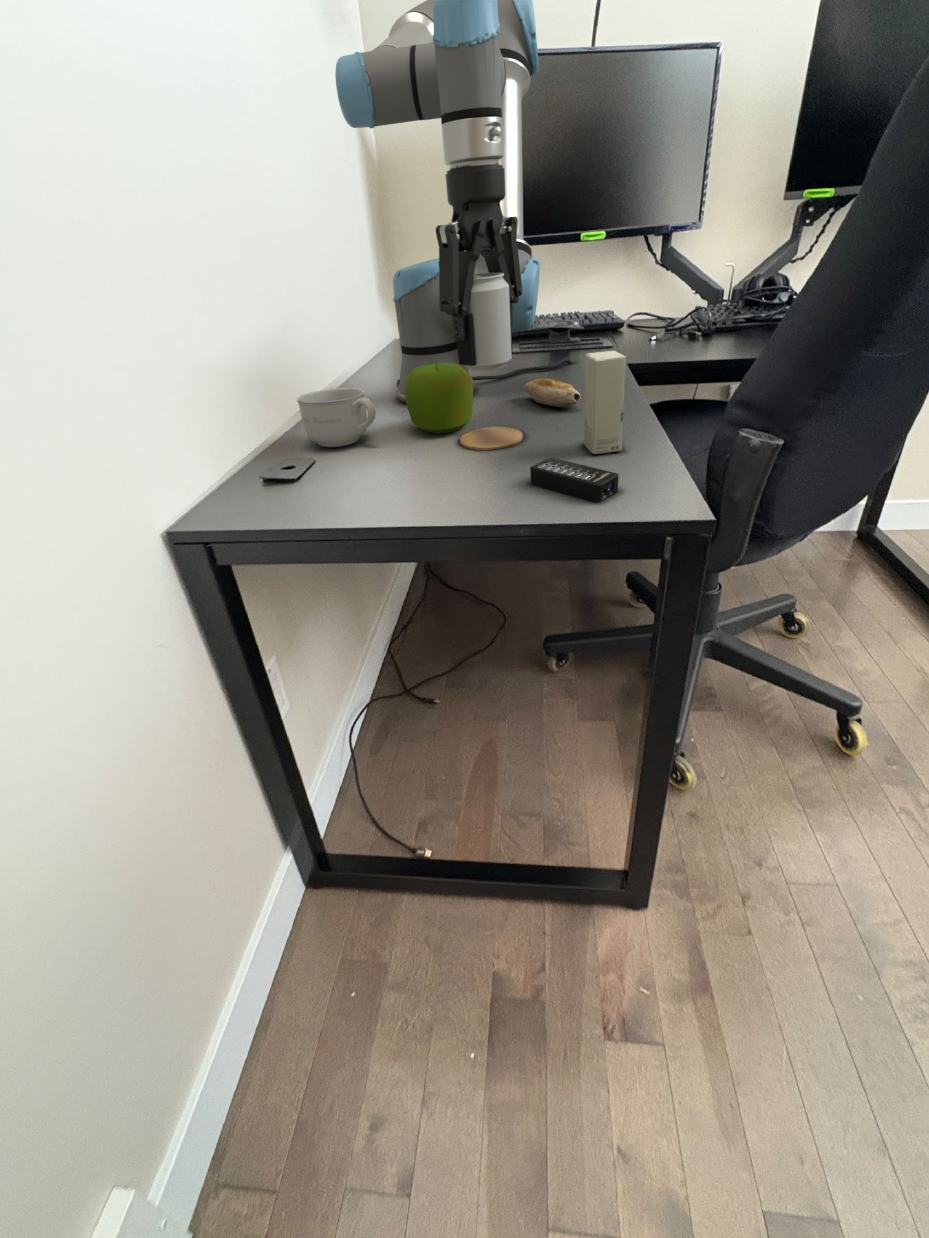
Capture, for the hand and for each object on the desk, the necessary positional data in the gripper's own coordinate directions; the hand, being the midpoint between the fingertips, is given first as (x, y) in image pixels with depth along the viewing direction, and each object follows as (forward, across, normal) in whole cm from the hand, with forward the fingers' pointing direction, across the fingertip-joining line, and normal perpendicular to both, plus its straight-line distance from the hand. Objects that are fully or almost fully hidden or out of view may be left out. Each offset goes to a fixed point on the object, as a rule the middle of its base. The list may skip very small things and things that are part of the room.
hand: (486, 358), depth 89 cm
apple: (+12, 0, +11) cm, 17 cm away
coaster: (+12, 0, 0) cm, 12 cm away
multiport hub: (+12, -9, -22) cm, 27 cm away
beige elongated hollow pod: (+12, +20, +3) cm, 24 cm away
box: (+12, +5, -17) cm, 22 cm away
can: (+1, 0, 0) cm, 1 cm away
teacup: (+12, -14, +20) cm, 27 cm away
